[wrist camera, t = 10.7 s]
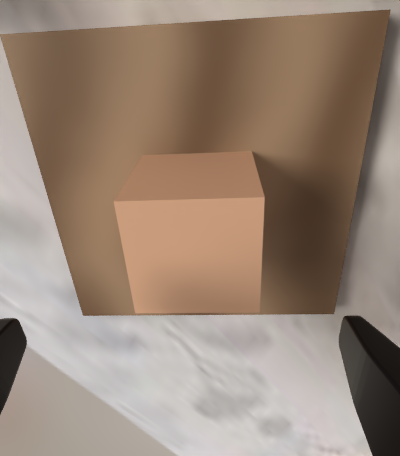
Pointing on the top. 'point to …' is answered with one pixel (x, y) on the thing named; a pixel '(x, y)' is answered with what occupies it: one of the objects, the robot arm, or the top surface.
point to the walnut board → (205, 135)
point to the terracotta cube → (193, 233)
